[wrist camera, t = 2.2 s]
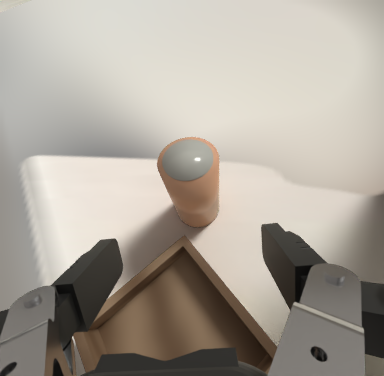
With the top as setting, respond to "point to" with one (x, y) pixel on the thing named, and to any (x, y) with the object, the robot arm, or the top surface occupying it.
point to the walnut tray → (175, 315)
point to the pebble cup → (192, 179)
